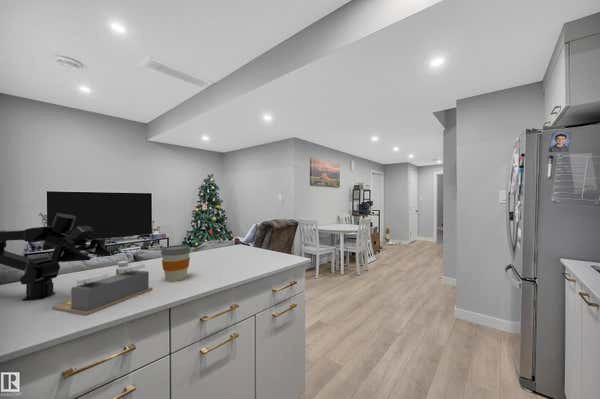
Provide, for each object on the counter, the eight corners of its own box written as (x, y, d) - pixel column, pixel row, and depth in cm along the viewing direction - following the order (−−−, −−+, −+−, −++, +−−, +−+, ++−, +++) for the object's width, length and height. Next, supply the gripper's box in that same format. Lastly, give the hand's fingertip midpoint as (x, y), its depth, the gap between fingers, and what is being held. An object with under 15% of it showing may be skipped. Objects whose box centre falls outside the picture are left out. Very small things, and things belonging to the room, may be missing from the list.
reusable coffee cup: (188, 280, 111) (188, 248, 111) (157, 283, 107) (157, 250, 107) (192, 273, 123) (192, 244, 123) (165, 275, 119) (165, 245, 119)
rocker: (118, 274, 95) (118, 270, 95) (131, 270, 100) (130, 266, 100) (133, 271, 93) (132, 267, 93) (145, 268, 98) (144, 264, 98)
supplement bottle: (130, 280, 113) (130, 259, 113) (130, 283, 108) (130, 262, 109) (116, 282, 110) (116, 261, 110) (115, 285, 105) (115, 263, 106)
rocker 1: (77, 285, 82) (76, 280, 82) (93, 281, 87) (92, 276, 87) (92, 283, 79) (92, 277, 80) (108, 278, 84) (108, 273, 84)
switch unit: (52, 309, 82) (52, 286, 82) (122, 286, 105) (122, 268, 105) (86, 315, 77) (86, 291, 77) (152, 289, 99) (152, 271, 100)
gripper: (45, 225, 84) (86, 240, 84) (92, 221, 103) (125, 234, 102) (34, 254, 84) (74, 270, 83) (83, 246, 102) (116, 258, 102)
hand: (100, 256), depth 93 cm, fingers open, 9 cm apart
